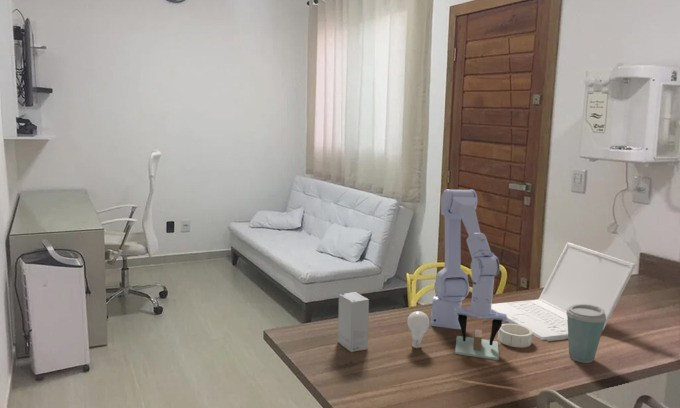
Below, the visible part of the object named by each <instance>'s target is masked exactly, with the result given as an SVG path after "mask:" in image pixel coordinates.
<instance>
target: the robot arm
mask: <svg viewBox="0 0 680 408" xmlns="http://www.w3.org/2000/svg"><path fill="white" fill-rule="evenodd" d="M478 202H479V201H478V195H477V192H476V191H475V189H448V188H447V189H444V191H443V192H442V194H441V196H440V213H441V215H442V216H444V267H443V268H442V269H440V270H439V271H438V272H437V273H436V275H435V282H434V293H435V295H434V296H432V297H433V298H432V306H431V313H430V326H431V327H432V326H433V327H438V328H439V327H440V328H445V329H446V328H447V329H453V330H461V333H462V336H463V341H466V337H467V324H468V323H467V322H468V321H467V320H468V318H475V319H480V320H488V321H490V320H491V321H492V322H491V331H490V336H489V340H490V345H492V343H493V341H495V338H496V336H497V335H498V330H499V329H500V328H501V326H502V324H507V321H506V319H507V314H503V313H498V312H494V311H491V306H492V304H493V295H494V293H493V292H494V285H495V277H497V276H498V275H499V273H500V269H501V268H500V266H501V265H500V261H499V258H498V256H497V255H495V253H494V252H492V251H491V248H490V245H489V241H488V239H487V238H488V237H486V234H485V233H483V232H481V230H480V229H481V228H480V225H479V220H478V217H477V211H476V210H477V207H478ZM461 221H462V222H461ZM461 223H463V226H464V228H465V230H466V233H467V235H468V237H467V238H466V245H467V247H468V250H469V254H470V257H471V263H470V271H471V281H472V290H471V298H470V299H471V302H470V307H462V306H463V301H464V300H465V298H466V297H468V295H469V293H470V284H469V279H468V278H469V277H468V275H469V274H468V273H466V272H465V271H464V270H462V268H461V264H462V263H461V257H462V256H461V250H462V249H461V246H462V245H461V238H462V237H461V236H462V235H461V230H462V229H461V228H462V227H461V226H462V225H461Z"/></svg>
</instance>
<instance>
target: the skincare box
mask: <svg viewBox="0 0 680 408" xmlns="http://www.w3.org/2000/svg"><path fill="white" fill-rule="evenodd" d="M369 306H370V299H368V298H367V297H366V296H363V295H361V294H359V292H356V291H352V292H346V293H340V294H338V314H337V315H338V319H337V320H338V325H337V327H338V328H337V329H338V330H337V342H338V343H339V344H340V345H341V346H343V348H345V349H346V350H348V351H349V352H350V353H354V352H361V351H366V350H368V348H369V317H370V316H369V312H370V311H369V309H370V307H369Z"/></svg>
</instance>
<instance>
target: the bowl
mask: <svg viewBox="0 0 680 408" xmlns="http://www.w3.org/2000/svg"><path fill="white" fill-rule="evenodd" d="M497 340H498V342H500V343H501V344H503V345H505V346H508V347H512V348H513V347H514V348H528V347H530V346H531V345H532V340H533V335H532V330H530V329H529V328H527V327H525V326H522V325H518V324H510V323H509V322H508V323H502V326H501V328H500V329H499V330H498V332H497Z"/></svg>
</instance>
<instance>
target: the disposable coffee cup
mask: <svg viewBox="0 0 680 408" xmlns="http://www.w3.org/2000/svg"><path fill="white" fill-rule="evenodd" d="M566 315H567V321H568V341H567V342H568V355H569V357H570V359H571V360H573V361H574V362H575V361H576V362H577V363H578V362H579V363H583V364H586V363H588V364H589V363H592V362H594V360H595V358H596V354H597V350H598V347H599V344H600V340H601V336H602V333H603V331H604V330H603V327H604V323H605V321H606V315H605V312H604V310H603V309H602V308H600V307H597V306H594V305H589V304H576V305H572V306H570V307H569V308H568V309H567V311H566Z"/></svg>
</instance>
